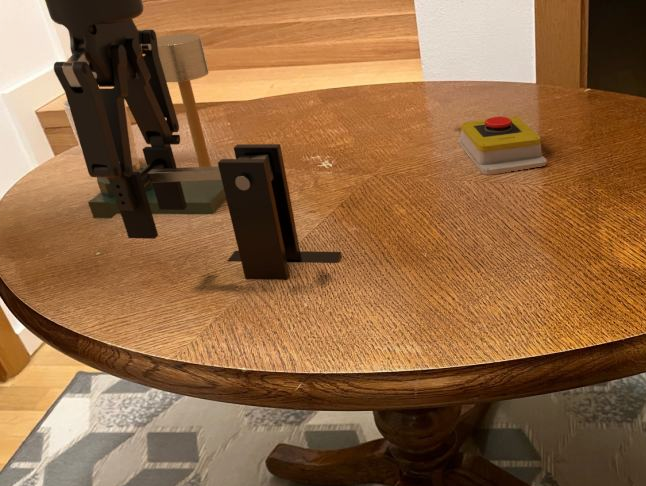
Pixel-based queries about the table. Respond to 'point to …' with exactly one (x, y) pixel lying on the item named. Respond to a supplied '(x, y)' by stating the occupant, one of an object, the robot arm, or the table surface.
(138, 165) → the lamp button
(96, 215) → the lamp base
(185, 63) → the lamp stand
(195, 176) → the lever
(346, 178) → the table surface
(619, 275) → the table surface
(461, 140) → the emergency button
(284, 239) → the brown bracket stand
